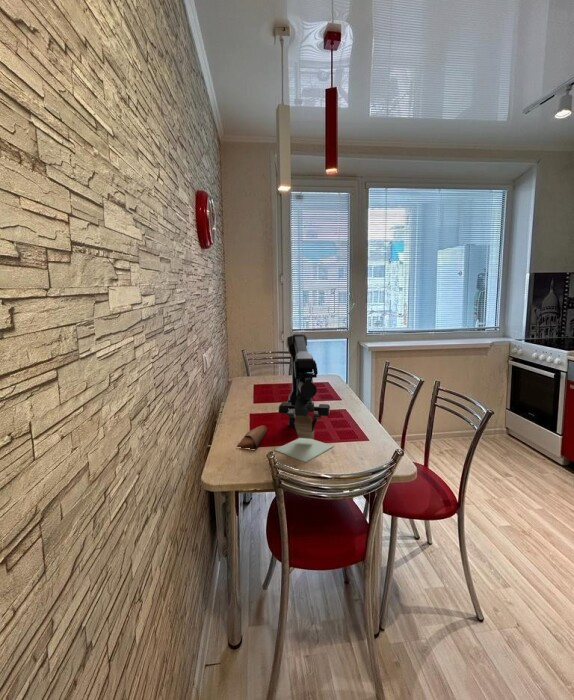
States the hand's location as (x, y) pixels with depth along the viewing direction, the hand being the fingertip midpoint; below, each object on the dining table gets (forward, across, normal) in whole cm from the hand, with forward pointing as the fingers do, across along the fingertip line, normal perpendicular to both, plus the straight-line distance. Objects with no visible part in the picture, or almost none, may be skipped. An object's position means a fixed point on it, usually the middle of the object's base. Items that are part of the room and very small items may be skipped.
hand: (304, 430), depth 140 cm
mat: (+7, 0, -1) cm, 7 cm away
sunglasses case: (+8, -22, +3) cm, 23 cm away
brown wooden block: (+4, 0, +6) cm, 7 cm away
